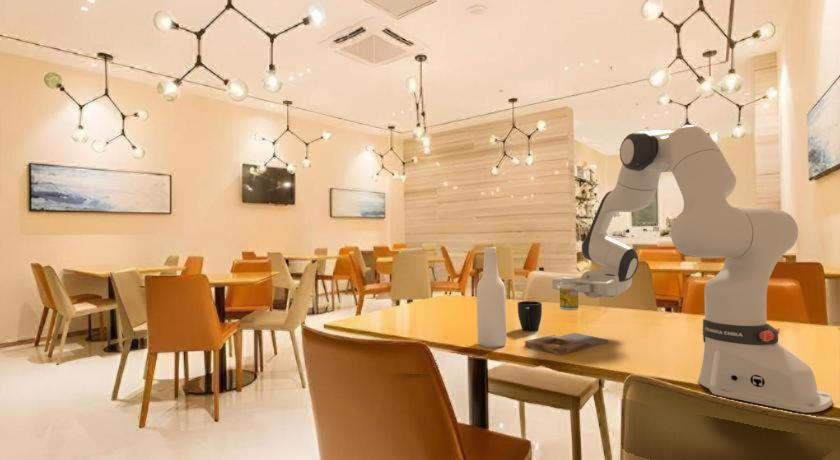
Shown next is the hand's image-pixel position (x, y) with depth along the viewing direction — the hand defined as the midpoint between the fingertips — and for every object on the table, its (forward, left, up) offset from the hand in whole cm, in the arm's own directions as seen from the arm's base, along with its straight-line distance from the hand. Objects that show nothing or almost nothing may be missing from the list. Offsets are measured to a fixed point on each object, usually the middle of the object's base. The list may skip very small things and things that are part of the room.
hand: (566, 287), depth 139 cm
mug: (+20, -4, -17) cm, 27 cm away
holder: (0, +6, -17) cm, 18 cm away
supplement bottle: (0, -1, -7) cm, 7 cm away
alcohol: (+14, +19, -17) cm, 29 cm away
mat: (0, -6, -17) cm, 18 cm away
